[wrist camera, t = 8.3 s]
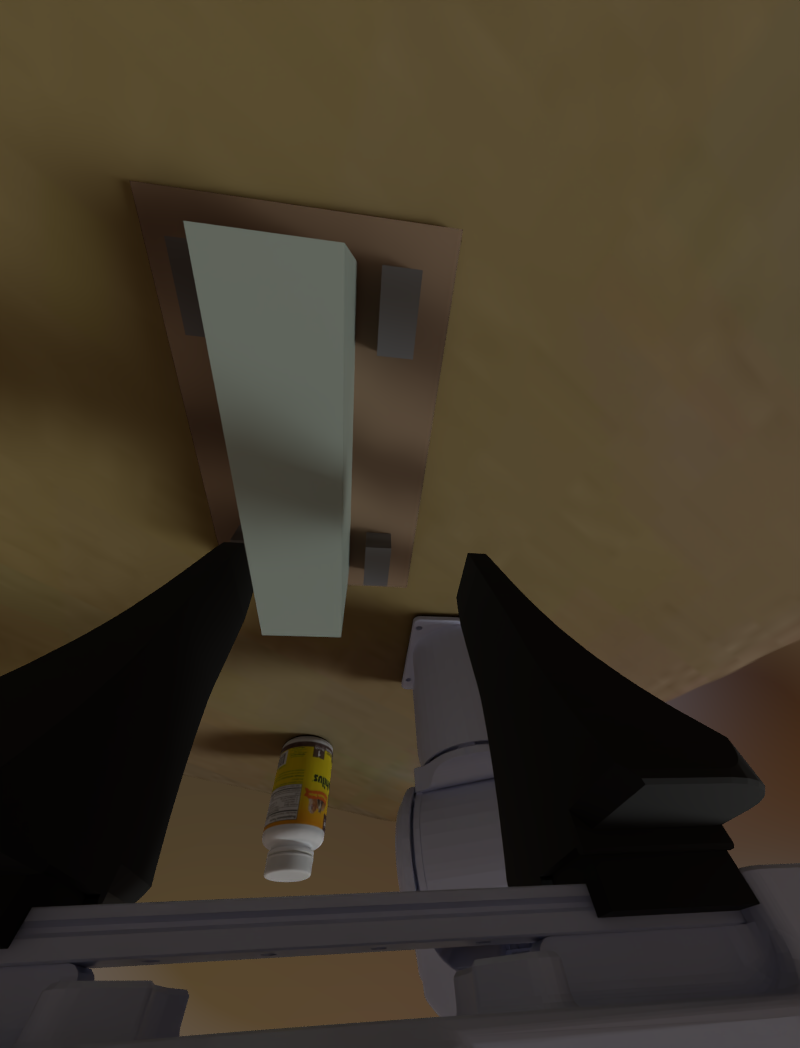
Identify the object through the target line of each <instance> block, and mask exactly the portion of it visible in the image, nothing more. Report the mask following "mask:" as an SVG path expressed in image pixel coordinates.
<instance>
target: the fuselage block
mask: <svg viewBox="0 0 800 1048" xmlns="http://www.w3.org/2000/svg"><path fill="white" fill-rule="evenodd" d="M183 222H184V228H185V233H186V238H187V243H188V249H189V254H190V259H191V264H192V270H193V275H194V280H195V285H196V291H197V296H198V301H199V307H200V312H201V317H202V322H203V328H204V333H205V338H206V343H207V349H208V354H209V359H210V364H211V370H212V375H213V380H214V385H215V391H216V396H217V401H218V406H219V412H220V417H221V422H222V427H223V433H224V438H225V443H226V448H227V454H228V459H229V464H230V469H231V475H232V480H233V485H234V490H235V496H236V501H237V506H238V511H239V517H240V522H241V527H242V532H243V538H244V543H245V548H246V553H247V559H248V564H249V569H250V575H251V580H252V585H253V590H254V596H255V601H256V606H257V611H258V617H259V622H260V627H261V632H262V635H277V636H313V637H341V633H342V625H343V617H344V608H345V600H346V592H347V583H348V575H349V563H350V525H351V486H352V447H353V409H354V370H355V332H356V293H357V261H356V259H355V258H354V256H353V255H352V253H351V252H350V250H349V249H348V247H347V246H346V244H345V243H342V242H335V241H327V240H320V239H313V238H306V237H298V236H291V235H284V234H277V233H269V232H262V231H255V230H248V229H240V228H233V227H226V226H219V225H211V224H204V223H197V222H190V221H183Z"/></svg>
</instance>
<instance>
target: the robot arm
mask: <svg viewBox="0 0 800 1048" xmlns="http://www.w3.org/2000/svg"><path fill="white" fill-rule="evenodd" d="M252 593H253V586H252V581H251V576H250V571H249V566H248V561H247V556H246V552H245V547H244V543H235V542H223V543H221V544H220V545H219V546H217V547H216V548H214V549H213V550H212V551H210V552H209V553H207V554H206V555H205V556H203V557H202V558H201V559H199V560H198V561H197V562H195V563H194V564H193V565H191V566H190V567H189V568H187V569H186V570H184V571H183V572H182V573H180V574H179V575H178V576H176V577H175V578H173V579H172V580H171V581H169V582H168V583H166V584H165V585H164V586H162V587H161V588H159V589H158V590H156V591H155V592H153V593H152V594H150V595H149V596H147V597H146V598H144V599H143V600H141V601H140V602H138V603H137V604H135V605H134V606H132V607H131V608H129V609H127V610H126V611H124V612H123V613H121V614H119V615H118V616H116V617H114V618H113V619H111V620H109V621H108V622H106V623H104V624H102V625H101V626H99V627H97V628H95V629H94V630H92V631H90V632H88V633H87V634H85V635H83V636H81V637H79V638H77V639H76V640H74V641H72V642H70V643H68V644H66V645H64V646H62V647H60V648H58V649H56V650H54V651H52V652H50V653H48V654H46V655H44V656H42V657H40V658H38V659H36V660H34V661H32V662H30V663H28V664H26V665H24V666H22V667H20V668H18V669H16V670H14V671H11V672H9V673H7V674H5V675H3V676H1V677H0V1048H800V863H798V864H797V863H796V864H771V865H754V866H748V867H742V868H739V869H738V867H737V866H736V864H735V863H734V861H733V859H732V858H731V856H730V855H729V853H728V851H727V850H731V849H733V848H734V844H733V841H732V840H731V838H730V837H729V835H728V834H727V832H726V831H725V829H724V828H723V826H722V824H724V823H725V822H727V821H729V820H731V819H732V818H735V817H736V816H738V815H740V814H742V813H744V812H745V811H747V810H749V809H751V808H752V807H754V806H755V805H757V804H758V803H759V802H760V801H761V800H762V799H763V798H764V795H765V785H764V784H763V782H762V781H761V780H760V779H759V777H758V776H757V775H756V774H755V772H754V771H753V770H752V768H751V767H750V766H749V765H748V763H747V762H746V761H745V760H744V759H743V757H742V756H741V755H740V753H739V752H738V751H737V750H736V748H735V747H734V746H733V744H732V743H731V742H730V741H729V740H728V738H727V737H725V736H723V735H721V734H720V733H718V732H716V731H714V730H713V729H711V728H709V727H707V726H705V725H704V724H702V723H700V722H698V721H696V720H695V719H693V718H691V717H689V716H687V715H686V714H684V713H682V712H680V711H678V710H677V709H675V708H673V707H672V706H670V705H668V704H666V703H665V702H663V701H662V700H660V699H658V698H657V697H655V696H654V695H652V694H650V693H649V692H647V691H645V690H644V689H642V688H641V687H639V686H638V685H636V684H634V683H633V682H631V681H630V680H628V679H627V678H625V677H624V676H622V675H621V674H619V673H618V672H617V671H615V670H614V669H612V668H611V667H609V666H608V665H607V664H605V663H604V662H602V661H601V660H600V659H598V658H597V657H595V656H594V655H593V654H591V653H590V652H589V651H587V650H586V649H585V648H583V647H582V646H581V645H580V644H579V643H577V642H576V641H575V640H574V639H572V638H571V637H570V636H569V635H567V634H566V633H565V632H564V631H563V630H561V629H560V628H559V627H558V626H557V625H556V624H554V623H553V622H552V621H551V620H550V619H549V618H548V617H547V616H546V615H545V614H544V613H542V612H541V611H540V610H539V609H538V608H537V607H536V606H535V605H534V604H533V603H532V602H531V601H530V600H529V599H528V598H527V597H526V596H525V595H524V594H523V593H522V592H521V591H520V590H519V589H518V588H517V587H516V586H515V585H514V584H513V583H512V582H511V581H510V579H509V578H508V577H507V576H506V575H505V574H504V573H503V572H502V571H501V570H500V569H499V568H498V566H497V565H496V564H495V563H494V562H493V561H492V560H491V559H490V558H489V557H488V556H487V555H486V554H476V553H468V554H467V558H466V562H465V566H464V570H463V574H462V578H461V582H460V586H459V589H458V593H457V605H458V612H459V617H432V616H417V617H415V618H414V620H413V624H412V629H411V634H410V640H409V645H408V651H407V656H406V661H405V667H404V672H403V678H402V687H403V688H404V689H413V698H414V711H415V723H416V736H417V749H418V757H419V761H420V764H421V767H418V768H415V769H414V776H415V787H411V788H409V789H408V790H407V791H406V793H405V795H404V798H403V801H402V803H401V805H400V807H399V811H398V815H397V821H396V836H395V846H396V865H397V874H398V881H399V887H400V892H380V893H357V894H333V895H310V896H286V897H263V898H240V899H216V900H193V901H169V902H148V903H147V902H146V903H135V902H137V901H138V900H139V899H140V898H141V897H142V896H143V895H144V894H145V893H146V892H147V891H148V890H149V889H150V887H151V886H152V882H153V878H154V874H155V870H156V866H157V863H158V859H159V855H160V851H161V848H162V844H163V841H164V837H165V833H166V830H167V826H168V822H169V819H170V815H171V812H172V809H173V805H174V802H175V799H176V795H177V792H178V789H179V785H180V782H181V779H182V775H183V772H184V769H185V766H186V763H187V760H188V757H189V754H190V751H191V748H192V745H193V742H194V738H195V735H196V733H197V730H198V727H199V724H200V721H201V718H202V715H203V713H204V710H205V707H206V704H207V701H208V699H209V696H210V694H211V692H212V689H213V687H214V684H215V682H216V680H217V678H218V676H219V674H220V672H221V669H222V667H223V665H224V663H225V661H226V659H227V657H228V654H229V652H230V650H231V648H232V646H233V644H234V641H235V639H236V637H237V635H238V633H239V631H240V628H241V626H242V624H243V622H244V619H245V616H246V613H247V610H248V607H249V604H250V600H251V597H252ZM412 949H413V950H414V949H415V951H416V957H417V963H418V969H419V975H420V978H421V980H422V981H423V987H424V995H425V998H426V1000H427V1002H428V1003H429V1005H430V1006H431V1007H432V1008H433V1010H434V1011H435V1012H436V1013H437V1014H438V1015H439V1017H432V1018H418V1019H404V1020H390V1021H375V1022H361V1023H347V1024H334V1025H321V1026H307V1027H295V1028H282V1029H269V1030H257V1031H256V1030H255V1031H242V1032H230V1033H217V1034H205V1035H192V1036H180V1037H179V1032H180V1026H181V1023H182V1019H183V1016H184V1012H185V1008H186V1005H187V1001H188V998H189V994H188V991H187V990H183V989H174V988H166V987H162V986H157V985H155V984H154V983H153V982H152V981H94V974H93V972H92V970H91V969H89V968H102V967H120V966H137V965H154V964H172V963H189V962H207V961H224V960H241V959H257V958H258V959H259V958H275V957H293V956H310V955H328V954H345V953H362V952H380V951H396V950H412Z"/></svg>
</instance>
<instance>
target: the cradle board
mask: <svg viewBox="0 0 800 1048" xmlns="http://www.w3.org/2000/svg"><path fill="white" fill-rule="evenodd" d="M130 185H131V189H132V193H133V197H134V201H135V205H136V209H137V213H138V217H139V222H140V226H141V230H142V234H143V238H144V242H145V246H146V250H147V254H148V258H149V262H150V267H151V271H152V275H153V279H154V283H155V287H156V291H157V295H158V299H159V303H160V308H161V312H162V316H163V320H164V324H165V328H166V332H167V336H168V340H169V344H170V349H171V353H172V357H173V361H174V365H175V369H176V373H177V377H178V381H179V385H180V390H181V394H182V398H183V402H184V406H185V410H186V414H187V418H188V422H189V426H190V431H191V435H192V439H193V443H194V447H195V451H196V455H197V459H198V463H199V467H200V472H201V476H202V480H203V484H204V488H205V492H206V496H207V500H208V504H209V508H210V513H211V517H212V521H213V525H214V529H215V533H216V537H217V541H218V545H220V544H221V543H223V542H235V543H244V538H243V532H242V527H241V522H240V517H239V511H238V506H237V501H236V496H235V490H234V485H233V480H232V475H231V469H230V464H229V459H228V454H227V448H226V443H225V438H224V433H223V427H222V422H221V417H220V412H219V406H218V401H217V396H216V391H215V385H214V380H213V375H212V370H211V364H210V359H209V354H208V349H207V343H206V338H205V333H204V328H203V322H202V317H201V312H200V307H199V301H198V296H197V291H196V285H195V280H194V275H193V270H192V264H191V259H190V254H189V249H188V243H187V238H186V233H185V228H184V222H183V221H190V222H197V223H204V224H211V225H219V226H226V227H233V228H240V229H248V230H255V231H262V232H269V233H277V234H284V235H291V236H298V237H306V238H313V239H320V240H327V241H335V242H342V243H345V244H346V246H347V247H348V249H349V250H350V252H351V253H352V255H353V256H354V258H355V259H356V261H357V293H356V332H355V370H354V409H353V447H352V486H351V525H350V563H349V575H348V583H347V585H360V586H384V587H407V582H408V576H409V569H410V563H411V557H412V550H413V544H414V538H415V531H416V525H417V518H418V512H419V506H420V499H421V493H422V487H423V480H424V474H425V468H426V461H427V455H428V448H429V442H430V436H431V429H432V423H433V417H434V410H435V404H436V398H437V391H438V385H439V378H440V372H441V366H442V359H443V353H444V347H445V340H446V334H447V327H448V321H449V315H450V308H451V302H452V296H453V289H454V283H455V277H456V270H457V264H458V257H459V251H460V245H461V238H462V232H463V230H461V229H455V228H448V227H441V226H434V225H427V224H421V223H414V222H407V221H400V220H394V219H387V218H380V217H373V216H366V215H360V214H353V213H346V212H339V211H332V210H326V209H319V208H312V207H305V206H298V205H292V204H285V203H278V202H271V201H265V200H258V199H251V198H244V197H237V196H231V195H224V194H217V193H210V192H203V191H197V190H190V189H183V188H176V187H169V186H163V185H156V184H149V183H142V182H136V181H130ZM244 547H245V543H244ZM245 552H246V548H245ZM246 556H247V553H246ZM247 561H248V559H247ZM248 566H249V564H248ZM249 571H250V569H249ZM250 576H251V575H250ZM251 581H252V580H251Z"/></svg>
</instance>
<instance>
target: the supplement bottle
mask: <svg viewBox="0 0 800 1048" xmlns="http://www.w3.org/2000/svg"><path fill="white" fill-rule="evenodd" d="M332 758H333V749H332V746H331V745H330V743H329V742H327V741H326V740H324V739H322V738H318V737H314V736H301V737H296V738H293V739H291V740H289V741H288V742H287V743H286V744H285V745H284V746H283V748H282V751H281V755H280V760H279V764H278V769H277V773H276V777H275V782H274V786H273V791H272V795H271V800H270V804H269V809H268V814H267V818H266V823H265V827H264V831H263V836H262V842H263V845H264V846H265V847H266V848H267V849H268V850H270V851H269V852H268V856H267V859H266V866H265V871H264V877H265V878H266V879H268V880H271V881H278V882H295V881H301V880H305V879H307V878H309V877H310V875H311V869H312V862H313V854H314V852H313V850H315V849H317V848H318V847H319V846H320V845H321V844H322V842H323V839H324V833H325V823H326V814H327V805H328V795H329V787H330V777H331V768H332Z"/></svg>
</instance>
